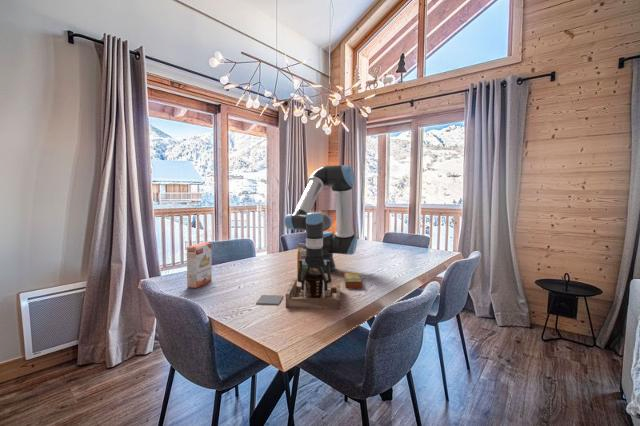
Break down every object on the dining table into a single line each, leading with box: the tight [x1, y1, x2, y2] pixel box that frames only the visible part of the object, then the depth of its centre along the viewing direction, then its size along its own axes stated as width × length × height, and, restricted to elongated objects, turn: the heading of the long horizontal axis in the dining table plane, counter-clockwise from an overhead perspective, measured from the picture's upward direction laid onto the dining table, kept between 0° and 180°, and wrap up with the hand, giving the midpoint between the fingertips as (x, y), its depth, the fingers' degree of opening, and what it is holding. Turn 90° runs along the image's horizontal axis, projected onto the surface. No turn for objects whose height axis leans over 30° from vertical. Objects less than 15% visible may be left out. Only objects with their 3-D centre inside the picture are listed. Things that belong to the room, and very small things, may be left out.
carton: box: [343, 272, 363, 290], centre depth 161 cm, size 8×16×4 cm, turn 179°
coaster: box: [255, 294, 284, 306], centre depth 137 cm, size 10×10×1 cm
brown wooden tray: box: [285, 277, 341, 310], centre depth 139 cm, size 22×23×6 cm
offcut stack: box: [300, 281, 332, 297], centre depth 146 cm, size 5×14×6 cm, turn 86°
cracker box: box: [186, 242, 213, 289], centre depth 159 cm, size 14×6×21 cm, turn 168°
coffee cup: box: [305, 271, 323, 298], centre depth 136 cm, size 9×8×13 cm
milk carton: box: [296, 243, 318, 280], centre depth 174 cm, size 11×10×19 cm
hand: (314, 297), depth 137 cm, fingers closed on coffee cup, 8 cm apart
